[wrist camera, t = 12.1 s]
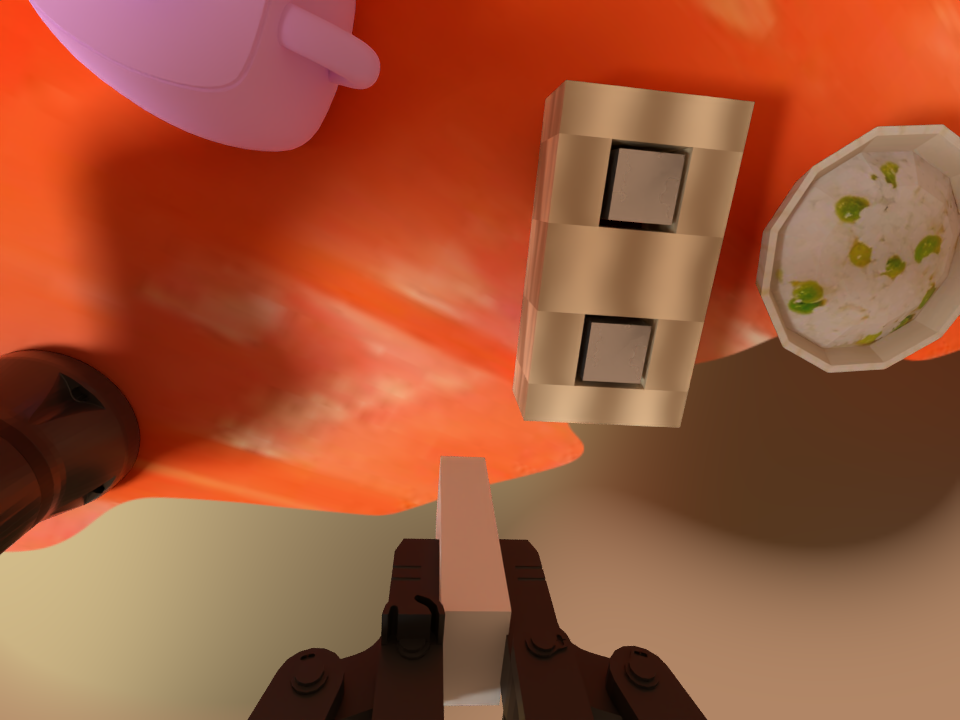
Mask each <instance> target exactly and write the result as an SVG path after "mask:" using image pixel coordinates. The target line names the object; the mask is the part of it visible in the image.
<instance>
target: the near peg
mask: <svg viewBox="0 0 960 720" xmlns="http://www.w3.org/2000/svg"><path fill="white" fill-rule="evenodd" d="M684 159H685V155H681V154H671V153H661V152H651V151H642V150H632V149H622V148H619V149H615V150H611V151H610V155H609V162H608V168H607V175H606V181H605V188H604V194H603V201H602V207H601V214H600V219H607V220H618V221H629V222H641V223H652V224H663V225H672V220H673V215H674V210H675V205H676V200H677V195H678V189H679V184H680V179H681V174H682V169H683V164H684Z"/></svg>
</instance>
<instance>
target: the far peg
mask: <svg viewBox="0 0 960 720" xmlns="http://www.w3.org/2000/svg"><path fill="white" fill-rule="evenodd" d="M650 331H651V326H650V325H648V324H647V323H645V322H643V321H642V320H640V319H638V318H635V317H621V316H606V315H591V314H585V318H584V324H583V331H582V337H581V344H580V350H579V357H578V363H577V370H576V373H577V374H578V375H579V376H580V378H581V379H582V380H583V381H601V382H620V383H638V384H640V382H641V377H642V372H643V367H644V362H645V356H646V351H647V346H648V341H649V336H650Z"/></svg>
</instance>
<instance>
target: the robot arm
mask: <svg viewBox="0 0 960 720" xmlns="http://www.w3.org/2000/svg"><path fill="white" fill-rule="evenodd" d="M139 443H140V435H139V428H138V423H137V420H136V417H135V414H134V412H133V410H132V408H131V406H130V404H129V402H128V401H127V399H126V398H125V397H124V395H123V394H122V393H121V391H120V390H119V389H118V388H117V387H116V386H115V385H114V384H113V383H112V382H111V381H110V380H109V379H108V378H106V377H105V376H104V375H103V374H101V373H100V372H99V371H97V370H95V369H94V368H92V367H91V366H89V365H87V364H85V363H83V362H81V361H79V360H76V359H74V358H71V357H68V356H65V355H62V354H58V353H53V352H47V351H35V350H30V351H18V352H13V353H9V354H5V355H2V356H0V554H1V553H3V552H4V551H5V550H6V549H8V548H9V547H10V546H11V545H12V544H14V543H15V542H16V541H17V540H18V539H20V538H21V537H22V536H23V535H24V534H25V533H26V532H28V531H29V530H30V529H31V528H33V527H34V526H35V525H36V524H38V523H39V522H41V521H44V520H46V519H49V518H51V517H54V516H57V515H59V514H62V513H64V512H67V511H69V510H72V509H75V508H77V507H80V506H82V505H85V504H87V503H89V502H92V501H94V500H96V499H97V498H99V497H101V496H102V495H104V494H105V493H106V492H108V491H109V490H110V489H111V488H112V487H114V486H115V485H116V484H117V483H118V482H119V481H120V480H121V479H123V478H124V477H125V476H126V474H127V473H128V472H129V471H130V469H131V468H132V466H133V464H134V462H135V460H136V458H137V454H138V450H139ZM500 694H501V695H502V703H503V718H502V720H707V719H706V718H705V716H704V715H703V713H702V712H701V711H700V709H699V708H698V707H697V705H696V704H695V703H694V701H693V700H692V699H691V697H690V696H689V695H688V693H687V692H686V691H685V689H684V688H683V687H682V685H681V684H680V682H679V681H678V680H677V679H676V677H675V676H674V674H673V673H672V672H671V670H670V669H669V668H668V666H667V665H666V664H665V663H664V662H663V661H662V660H661V659H660V658H659V657H658V656H656V655H655V654H653V653H651V652H650V651H648V650H646V649H643V648H640V647H636V646H623V647H621V648H619V649H617V650H615V651H614V653H613V655H612V656H611V658H607V657H604V656H600V655H597V654H594V653H590V652H588V651H585V650H583V649H580V648H579V647H577V646H576V645H574V644H572V643H571V641H570V639H569V638H568V636H567V634H566V633H565V632H564V631H563V630H562V629H560V628H559V625H558V623H557V619H556V615H555V612H554V608H553V605H552V601H551V597H550V594H549V590H548V586H547V583H546V581H545V576H544V572H543V570H542V565H541V561H540V558H539V554H538V552H537V550H536V549H535V548H534V547H533V546H532V545H531V543H530V542H529V541H528V540H508V539H507V540H506V539H499V537H498V531H497V526H496V520H495V514H494V508H493V503H492V497H491V491H490V485H489V479H488V473H487V468H486V462H485V458H483V457H455V456H441V458H440V472H439V487H438V502H437V518H436V539H403V541H402V542H401V544H400V545H399V546H398V547H397V549H396V550H395V554H394V562H393V570H392V578H391V586H390V594H389V602H388V603H387V604H386V605H385V608H384V610H383V613H382V632H381V637H380V639H379V640H378V641H377V642H376V643H375V644H374V645H373V646H371V647H370V648H368V649H367V650H365V651H363V652H361V653H358V654H356V655H353V656H350V657H346V658H343V659H340V658H339V657H338V656H337V655H336V654H335V653H334V652H332V651H329V650H327V649H324V648H311V649H308V650H304V651H301V652H299V653H297V654H295V655H294V656H292V657H290V658H289V659H288V660H287V661H286V662H285V663H284V664H283V665H282V666H281V667H280V669H279V670H278V671H277V673H276V675H275V676H274V678H273V679H272V681H271V683H270V685H269V686H268V688H267V689H266V691H265V693H264V694H263V696H262V697H261V699H260V701H259V702H258V704H257V705H256V707H255V709H254V711H253V712H252V714H251V715H250V717H249V718H248V720H444V706H475V705H499V702H500Z"/></svg>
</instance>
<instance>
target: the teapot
mask: <svg viewBox="0 0 960 720" xmlns="http://www.w3.org/2000/svg"><path fill="white" fill-rule="evenodd" d="M29 1H30V3H31V4H32V6H33V7H34V9H35V10H36V12H37V13H38V15H39V16H40V18H41V19H42V20H43V21H44V23H45V24H46V25H47V26H48V28H49V29H50V30H51V31H52V33H53V34H54V35H55V36H56V37H57V38H58V39H59V40H60V42H61V43H62V44H63V45H64V46H65V47H66V48H67V49H68V50H69V51H70V52H71V53H72V54H73V56H74V57H75V58H76V59H78V60H79V61H80V62H81V63H82V64H83V65H85V66H86V67H87V68H88V69H89V70H91V71H92V72H93V73H94V74H95V75H96V76H98V77H99V78H100V79H101V80H103V81H104V82H105V83H107V84H108V85H109V86H111V87H112V88H114V89H115V90H116V91H118V92H119V93H120V94H122V95H123V96H125V97H126V98H128V99H129V100H131V101H132V102H134V103H135V104H137V105H138V106H140V107H141V108H143V109H144V110H146V111H148V112H149V113H151V114H153V115H155V116H156V117H158V118H160V119H162V120H164V121H165V122H167V123H169V124H171V125H173V126H176V127H178V128H180V129H182V130H184V131H186V132H188V133H191V134H194V135H196V136H199V137H202V138H204V139H207V140H211V141H214V142H217V143H221V144H224V145H228V146H233V147H238V148H243V149H249V150H257V151H275V152H279V151H287V150H293V149H295V148H297V147H300V146H302V145H303V144H305V143H306V142H307V141H309V140H310V139H311V138H312V137H313V136H314V134H315V133H316V132H317V131H318V129H319V128H320V126H321V124H322V122H323V120H324V118H325V116H326V114H327V112H328V110H329V108H330V105H331V103H332V100H333V98H334V96H335V93H336V91H337V88H338V85H342V86H346V87H350V88H354V89H366V88H369V87H370V86H372V85H373V84H374V83H375V82H376V81H377V79H378V77H379V73H380V61H379V57H378V56H377V54H376V52H375V51H374V50H373V49H372V48H371V47H370V46H369V45H367V44H366V43H365V42H363V41H362V40H360V39H359V38H357V37H355V36H354V35H352V30H353V23H354V16H355V9H356V0H29Z"/></svg>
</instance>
